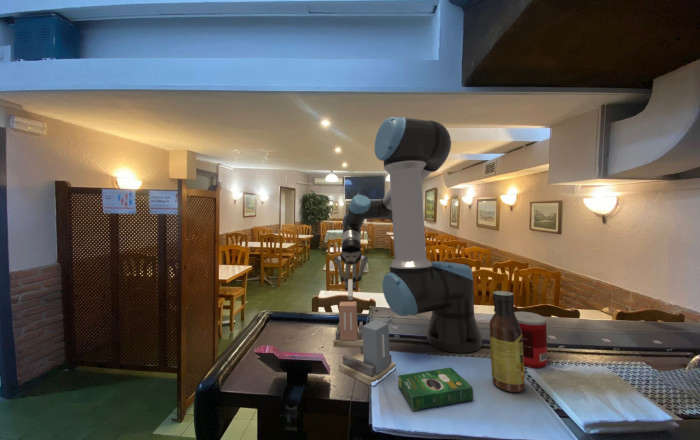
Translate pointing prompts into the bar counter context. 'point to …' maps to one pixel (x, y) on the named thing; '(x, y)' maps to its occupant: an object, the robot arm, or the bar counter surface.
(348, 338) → the pinkish brown tall block
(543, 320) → the canned food
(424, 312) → the robot arm
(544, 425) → the bar counter surface
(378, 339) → the slate key
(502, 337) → the sauce bottle
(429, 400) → the coffee box
